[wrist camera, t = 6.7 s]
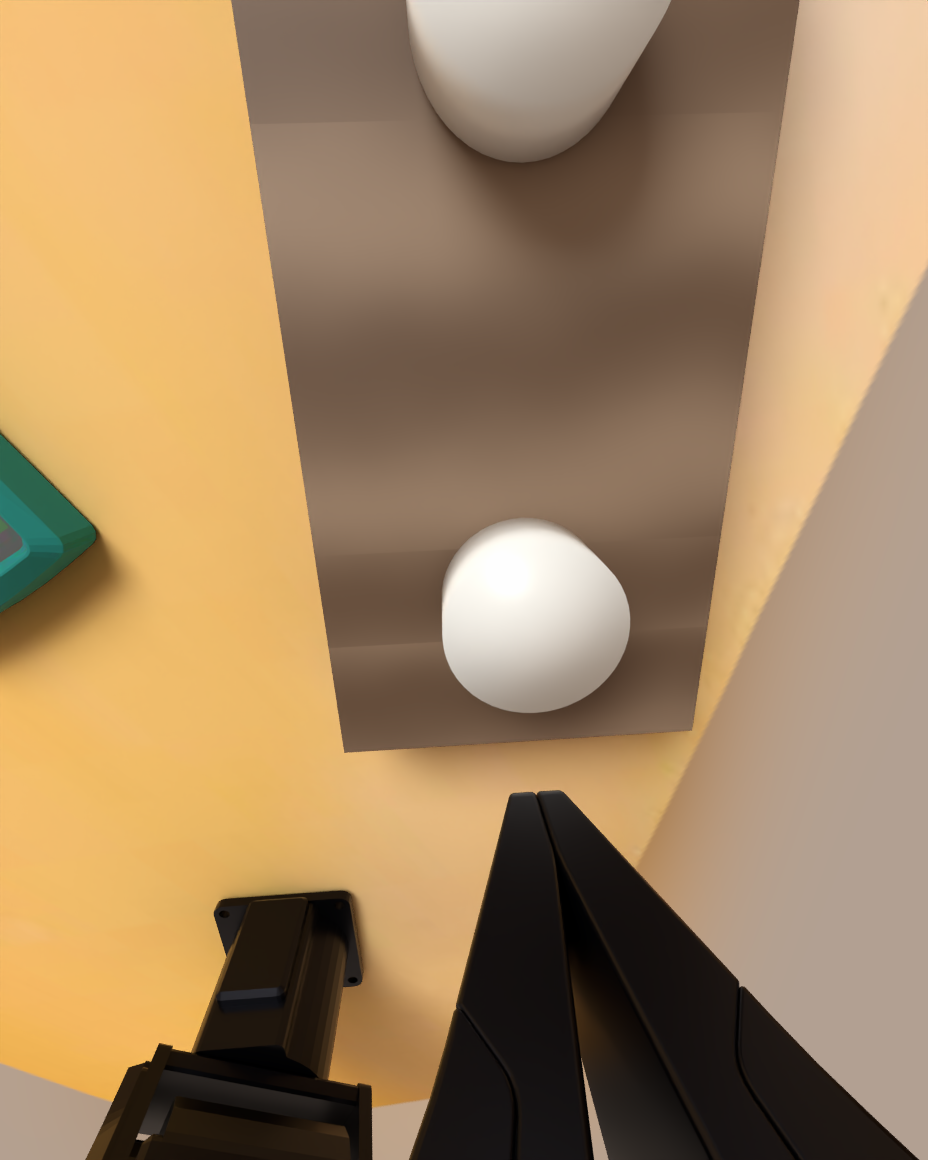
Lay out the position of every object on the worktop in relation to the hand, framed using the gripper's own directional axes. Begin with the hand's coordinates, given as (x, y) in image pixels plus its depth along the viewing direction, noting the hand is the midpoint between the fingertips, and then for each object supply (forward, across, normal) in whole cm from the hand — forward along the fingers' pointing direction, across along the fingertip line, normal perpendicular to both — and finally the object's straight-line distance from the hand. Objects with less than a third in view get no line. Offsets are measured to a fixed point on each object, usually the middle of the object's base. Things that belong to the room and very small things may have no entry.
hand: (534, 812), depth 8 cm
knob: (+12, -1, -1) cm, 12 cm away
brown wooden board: (+12, -1, -7) cm, 14 cm away
